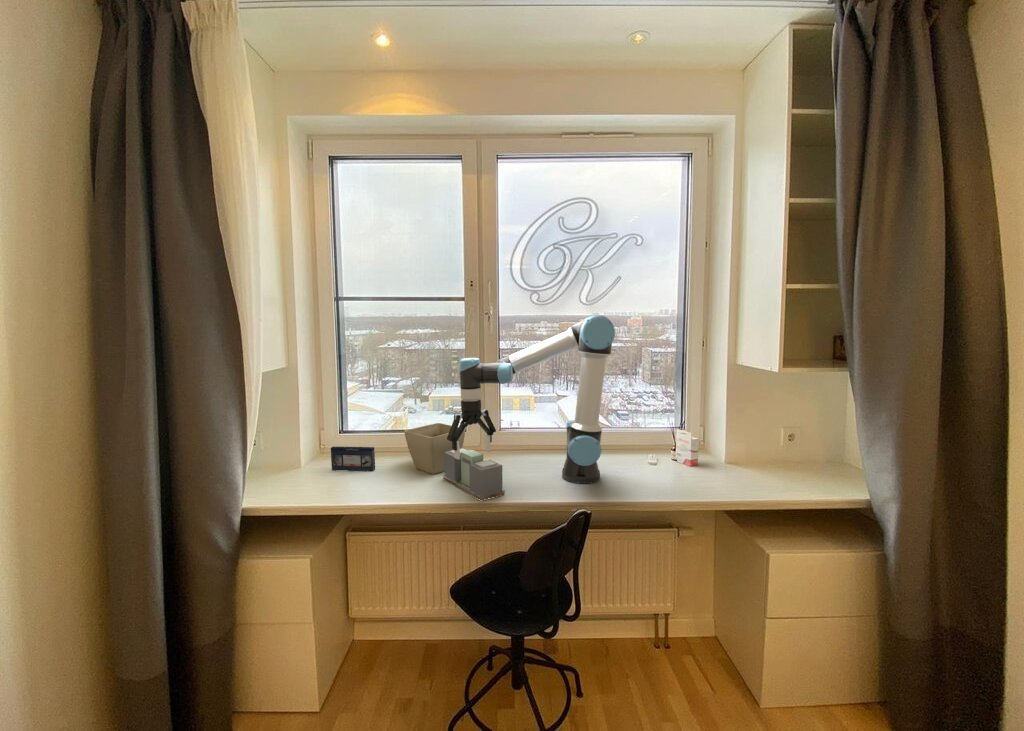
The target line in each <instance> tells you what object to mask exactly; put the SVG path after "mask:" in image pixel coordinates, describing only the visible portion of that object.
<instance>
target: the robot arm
mask: <svg viewBox="0 0 1024 731" xmlns="http://www.w3.org/2000/svg"><path fill="white" fill-rule="evenodd" d="M615 337H616V329H615V326H614V324H613V322H612V321H611V320H610V318H608V317H606V316H604V315H602V314H601V315H600V314H593V315H590V316H589V315H588V316H587V317H585V318H584V319H582V320H581V321H579V322H577V323H575V324H574V325H572V326H570V327H568V329H567V330H566V331H564V332H561V333H559V334H557V335H553V336H552V337H550V338H547V339H545V340H542V341H540V342H537V343H535V344H534V345H530V346H528V347H526V348H524V349H521V350H519V351H517V352H514V353H512V354H510V355H507V356H505V357H503V358H499V359H497V360H494V362H492V363H491V362H490V363H488V362H487V363H483V362H481V360H480V358H478V357H463V358H461V359H460V360H459V384H460V387H459V388H460V399H461V400H460V409H461V413H460V414H457V413H454V414H453V421H452V424H451V429H450V431H449V434H448V437H447V440H449V441H452V449H453V450H454V458H456V459H460V448H459V442H458V439H459V437H460V436H461V434H462V433H463V431H464V429H465V430H466V428H467V427H468V426H471V425H476V424H478V425H479V426H480V427H481V429H482V430H483V431H484V432H485V434H484V451H485V452H487V453H491V452H492V451H491V450H492V448H491V443H492V442H493V440H492V439H493V437H492V436H493V435H494V433H496V432H497V429H496V427H495V426H494V425H495V424H493V423H494V422H493V421H492V419H491V417H490V414H489V410H488V409H484V408H483V409H482V400H481V398H482V391H481V389H482V388H481V384H502V385H503V384H510V383H512V382H513V379H514V378H513V376H514V375H515V374H517V373H519V372H522V371H524V370H526V369H530V368H532V367H534V366H537V365H539V364H541V363H544V362H546V361H550V359H553V358H557V357H558V356H561V355H563V354H566V353H568V352H570V351H573V350H577V352H578V353H579V355H580V356H581V359H580V368H579V369H580V370H579V378H578V379H579V380H578V387H577V396H576V407H575V415H574V419H572V420H568V421H567V422H566V427H565V429H566V458H565V462H564V464H563V468H562V470H561V477H562V479H563V480H565V481H567V480H568V482H570V481H572V482H571V483H574V482H579V483H578V484H592V483H591V482H593V483H596V482H598V481H599V480H601V471H600V469H599V464H598V462H597V461H599V459H600V458H601V454H602V445H601V442H602V433H603V432H602V431H603V428H602V427H601V425H600V424H599V422H600V421H599V419H600V414H601V412H600V411H601V403H602V395H603V393H602V392H603V385H604V376H605V367H606V361H607V359H608V357H610V356H611V355H612V354H611V353H612V345H613V341H614V340H615ZM482 417H483V419H484V420H483V419H482ZM484 421H485V422H484ZM457 428H458V429H457Z"/></svg>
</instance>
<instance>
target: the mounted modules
mask: <svg viewBox="0 0 1024 731" xmlns="http://www.w3.org/2000/svg"><path fill="white" fill-rule="evenodd" d="M468 450H469V449H467V448H463V447H462V448H461V449H460V459H456V458H454V450H451V451H448V452H444V462H445V471H444V475H445V476H447V477H449V478H451V479H452V480H454V481H457V482H458V481H461V452H463V451H468ZM469 473H470V490H472V491H473V492H475V493H477V494H479V495H480V496H484V497H487V496H490V495H494V494H497V493H501V491H502V490H504V489H503V486H504V485H503V483H504V482H503V465H502V464H501V463H498V462H496V461H494V460H492V459H487V460H483V461H482V462H478V463H474V464H469Z"/></svg>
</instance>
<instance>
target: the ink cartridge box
mask: <svg viewBox="0 0 1024 731" xmlns="http://www.w3.org/2000/svg"><path fill="white" fill-rule="evenodd" d="M692 435H693V434H692V432H690V431H686V430H683V429H678V428H677V429H676V436H675V459H676V458H677V461H678V462H677V463H679V462H680V463H679V464H682V465H685V466H687V467H694V466H698V464H699V438H698V437H695V436H692Z"/></svg>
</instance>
